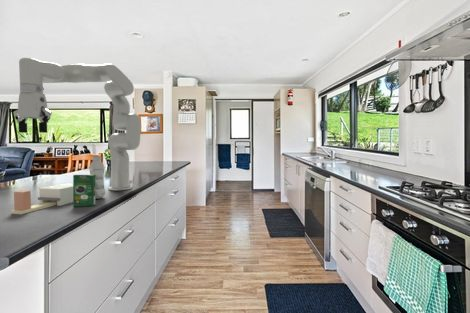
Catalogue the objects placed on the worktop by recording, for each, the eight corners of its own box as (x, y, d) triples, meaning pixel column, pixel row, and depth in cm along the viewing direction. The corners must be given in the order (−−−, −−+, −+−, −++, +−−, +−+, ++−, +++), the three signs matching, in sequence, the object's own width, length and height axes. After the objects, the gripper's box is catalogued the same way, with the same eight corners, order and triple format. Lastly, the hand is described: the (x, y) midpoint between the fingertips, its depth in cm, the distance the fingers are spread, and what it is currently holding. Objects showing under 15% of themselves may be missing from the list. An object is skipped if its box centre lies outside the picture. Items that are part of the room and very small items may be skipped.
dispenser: (66, 198, 129) (65, 183, 129) (84, 198, 127) (84, 184, 127) (38, 205, 115) (37, 188, 114) (58, 206, 113) (58, 189, 112)
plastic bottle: (86, 199, 126) (85, 156, 125) (97, 196, 132) (96, 155, 131) (97, 200, 124) (96, 156, 123) (108, 197, 130) (107, 155, 129)
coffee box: (96, 204, 116) (95, 174, 115) (94, 206, 113) (93, 174, 112) (75, 205, 114) (74, 174, 114) (73, 207, 111) (72, 175, 111)
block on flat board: (54, 202, 119) (53, 184, 119) (63, 203, 119) (62, 184, 118) (11, 213, 101) (10, 192, 100) (21, 214, 100) (20, 192, 99)
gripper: (57, 91, 113) (58, 132, 114) (22, 92, 116) (24, 132, 117) (41, 87, 106) (43, 132, 107) (4, 89, 109) (6, 132, 110)
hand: (33, 132), depth 112 cm, fingers open, 9 cm apart
